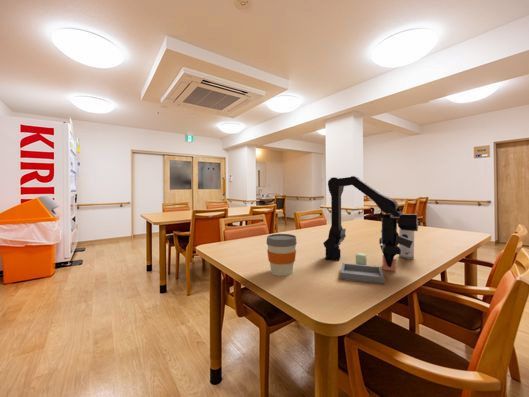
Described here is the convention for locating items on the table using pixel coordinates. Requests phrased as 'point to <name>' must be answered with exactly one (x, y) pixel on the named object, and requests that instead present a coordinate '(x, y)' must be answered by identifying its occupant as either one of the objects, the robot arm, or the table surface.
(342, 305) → the table surface
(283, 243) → the reusable coffee cup
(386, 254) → the robot arm
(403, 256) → the travel mug
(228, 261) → the table surface
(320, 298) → the table surface
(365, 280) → the serving tray
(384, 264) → the red cube
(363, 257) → the green cylinder
